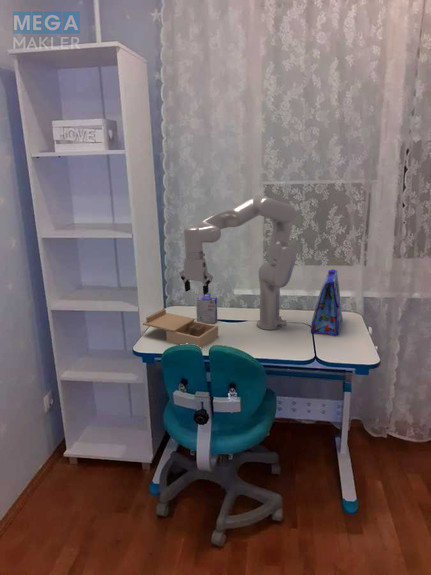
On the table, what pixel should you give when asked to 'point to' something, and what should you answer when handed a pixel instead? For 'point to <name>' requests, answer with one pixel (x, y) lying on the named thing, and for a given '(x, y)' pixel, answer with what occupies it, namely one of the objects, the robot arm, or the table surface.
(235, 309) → the table surface
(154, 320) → the lid
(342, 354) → the table surface
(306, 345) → the table surface
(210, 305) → the ink cartridge box
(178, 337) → the mailer box
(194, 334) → the walnut block
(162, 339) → the table surface
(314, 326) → the lunch bag
